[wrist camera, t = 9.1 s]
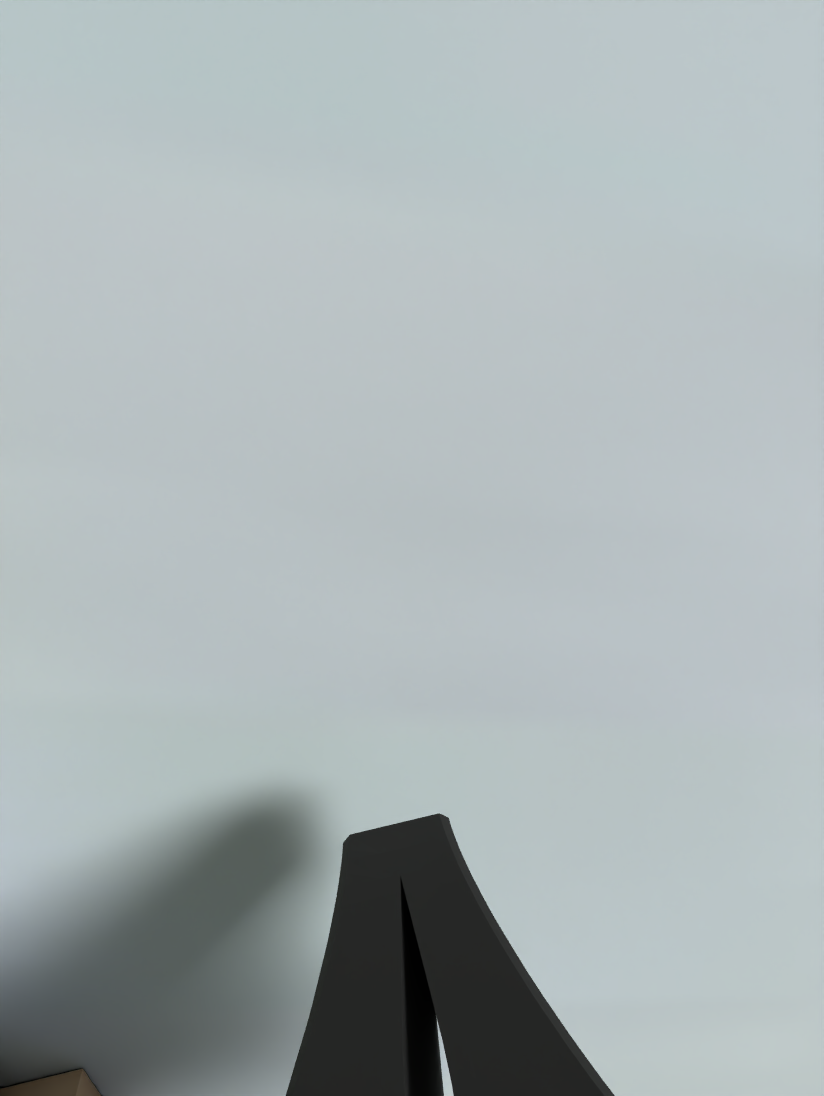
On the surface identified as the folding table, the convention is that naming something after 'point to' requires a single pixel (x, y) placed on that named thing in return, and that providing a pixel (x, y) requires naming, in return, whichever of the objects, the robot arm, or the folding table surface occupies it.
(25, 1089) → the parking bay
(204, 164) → the folding table surface
